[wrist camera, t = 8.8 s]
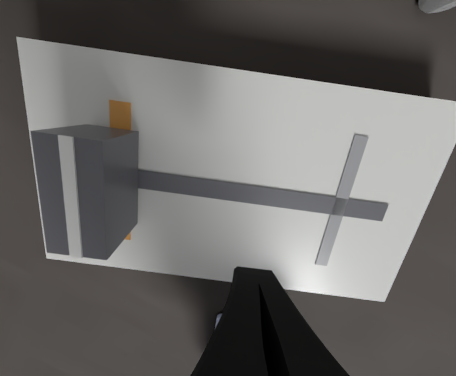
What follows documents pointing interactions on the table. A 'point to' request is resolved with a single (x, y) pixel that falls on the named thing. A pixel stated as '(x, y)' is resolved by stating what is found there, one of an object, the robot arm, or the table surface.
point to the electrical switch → (435, 5)
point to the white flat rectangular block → (253, 165)
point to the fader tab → (86, 188)
